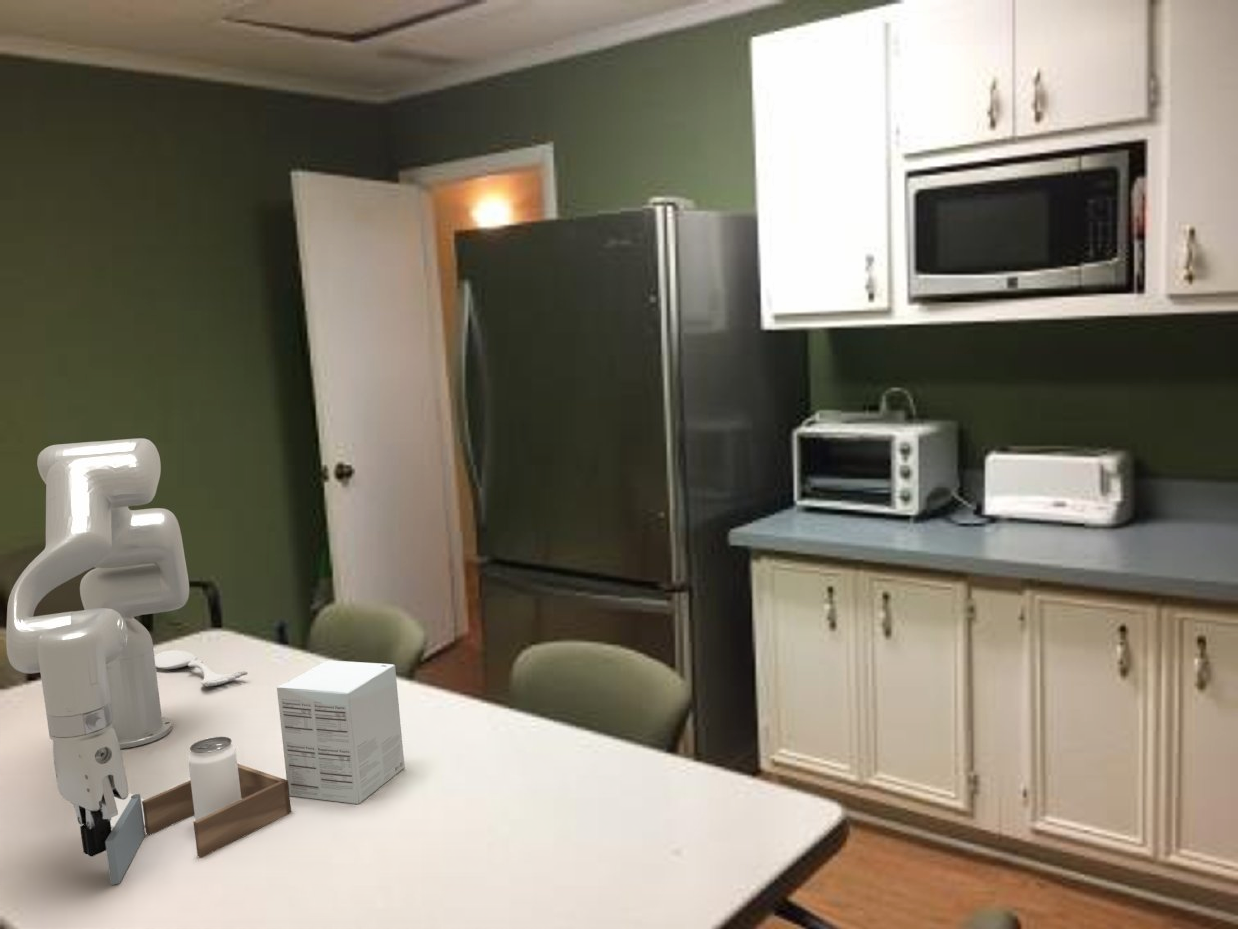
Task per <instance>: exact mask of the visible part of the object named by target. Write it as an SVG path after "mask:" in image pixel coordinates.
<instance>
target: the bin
mask: <svg viewBox="0 0 1238 929" xmlns="http://www.w3.org/2000/svg"><path fill="white" fill-rule="evenodd" d="M237 765H238V773H239V782H240V791H241V800H239V801H237V802H235V803H233V804H230V805H228V806H226V807H224V808H222V809H220V810H217V811H215V812H213V813H211V814H209V815H207V816H205V817H202V818H200V819H198V820H196V821H195V820H193V828H194V829H193V830H194V838H195V846H196V854H197V855H196V856H197V857H198V856H199V857H198V858H203V857H205V856H207V855H209V854H211V853H213V852H216V851H217V850H219V849H221V848H223V847H225V846H227V845H229V844H231V843H233V842H235V841H238V840H239V839H241V838H243V837H245V836H247V835H249V834H251V833H253V832H255V831H258V830H259V829H261V828H263V827H265V826H267V825H269V824H272V823H274V822H275V821H278V820H279V819H282V818H284V817H285V816H287V815H289V814H291V813H292V805H291V796H290V794H289V785H288V780H287V779H286V778H282V777H280V776H276V775H273V774H270V773H266V772H264V771H260V770H257V769H254V768H252V767H249V766H247V765H246V766H245V765H242V764H241V763H237ZM142 805H143V813H144V821H145V834H146V833H147V834H146V835H147V836H151V835H153V834H155V833H157V832H160V831H162V830H164V829H166V828H168V827H171V826H173V825H175V824H177V823H179V822H180V821H183V820H186V819H188V818H190V817H192V816H195V813H194V805H193V797H192V789H191V780H190V779H189V780H188V781H186V782H183V783H181V784H179V785H176V786H174V787H172V788H169V789H167V790H165V791H162V792H160V793H158V794H155V795H153V796H150V797H148V798H146V799H144V800H143V801H142ZM172 824H173V825H172ZM161 829H162V830H161ZM159 830H160V831H159ZM152 833H153V834H152ZM150 834H151V835H150ZM212 851H213V852H212Z"/></svg>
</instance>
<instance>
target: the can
mask: <svg viewBox="0 0 1238 929" xmlns="http://www.w3.org/2000/svg"><path fill="white" fill-rule="evenodd" d="M189 749H190V753H189V756H188V757H187V758H188V760H187V762H188V769H189V781H190V780H191V789H192V797H193V805H194V813H195V814H194V818H195V820H194V821H196V820H198V819H200V818H202V817H205V816H207V815H209V814H211V813H213V812H215V811H217V810H220V809H222V808H224V807H226V806H228V805H230V804H233V803H235V802H237V801H239V800H241V799H242V798H241V791H240V782H239V773H238V765H237V764H238V758H237V751H236V748H235V746H234V745H233V744H232V739H231V738H230V737H228V736H213V737H207V738H204V739H201V740H198V741H196V742H194V743H193V744H192V745H191V746H190V748H189Z"/></svg>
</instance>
